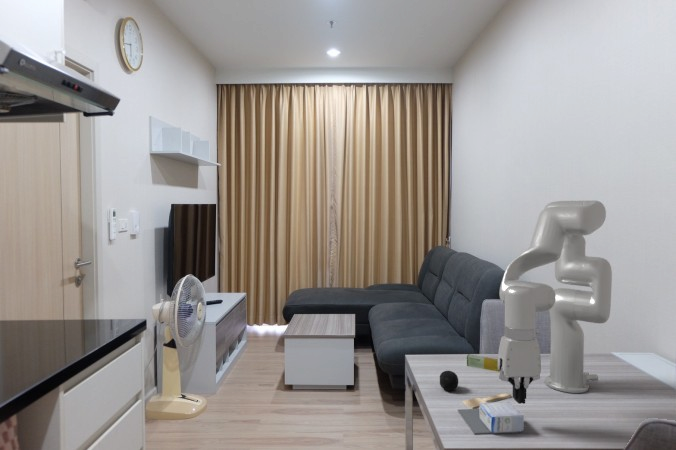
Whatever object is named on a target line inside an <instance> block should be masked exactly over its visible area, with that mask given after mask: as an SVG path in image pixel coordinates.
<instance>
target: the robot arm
mask: <svg viewBox="0 0 676 450" xmlns="http://www.w3.org/2000/svg"><path fill="white" fill-rule="evenodd" d="M606 217H607V210H606V207H605V205H604V204H603V202H601V201H598V200H559V201H557V200H556V201H552V202H549V203H547V204H546V205H545V206H544V208H543V209H542V210H541V211H540V213H539V215H538V218H537V222H536V224H535V228H534V232H533V234H532V238H531V239H530V245H529V247H528V248H526V249H525V250H523V252H521V253H520V254H518V255H517V256H516V257H515V258H514V259H513V260H512V261H510V263H509V264H508V265H507V266H506V268H505V270H504V273H503V276H502V279H501V282H500V286H499V300H500V301H501V302H502V304H504V335H502V336H501V338H500V343H499V347H498V353H497V354H498V355H497V359H498V370H499V371H500V372H499V375H498V378H499V380H501V381H503V382H509V384H510V385H511V386H512V397H513V399H514V401H515V402H516V403H518V404H526V399H527V389H528V388H529V387H530V385H531V383H532V382H533V381H538V380H541V372H542V360H541V358H542V357H541V351H540V344H539V341H538V339H537V334H541V330H540V328H537V327H536V314H537V313H540V312H547V311H548V313H549V319H550V363H549V364H550V368H549V369H550V370H549V371H550V373H549V374H550V375H547V376H546V377H545V379H544V383H545V385H547V386H548V387H550V388H551V389H554V390H556V391H560V392H563V393H569V394H570V393H572V394H583V393H587V392H588V391H589V389H590V387H589V386H590V385H589V384H588V382H590V381H598V380H599V376H598V374H590V373H589V372H588V371H587V372H586V371H585V372H584V364H585V362H584V357H585V354H584V349H585V346H584V345H585V344H584V343H585V336H584V331H583V329H582V327H581V325H580V324H579V322H578V321H581V322H587V323H590V324H591V323H593V324H605V323H606V322H608V320H609V319H610V315H611V304H612V286H613V285H612V283H613V272H612V266H611V264H610V261H608V259H606V258H604V257H601V256H599V257H598V256H587V255H586V244H587V243H586V238H585V237H584V236H588V235H589V236H590V235H591V234H592V233H594V232H596V231H597V230H599V229H600V228H601V227H602V226H603V225H604V223H605V221H606ZM553 263H554V277H555V279H556V281H557V282H559V283H560V284H564V285H570V286H579V287H588V288H591V289H592V290H591V291H589V290H582V289H575V288H555V289H554V288H553V286H551V285H549V284H546V283H540V282H532V281H526V280H525V281H524V280H519V279H521V277H522V276H524V274H526V273H527V272H529V271H531V270H534V269H536V268H540V267H542V266H545V265H549V264H553Z"/></svg>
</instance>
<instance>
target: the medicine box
mask: <svg viewBox="0 0 676 450" xmlns="http://www.w3.org/2000/svg"><path fill="white" fill-rule="evenodd" d="M478 409H479V415H480V419H481V420H482V422H483V423H484V424H485V425H486V426H487V428H488V429H489V430H490V431H491V432H492V433H497V432H516V431H520V432H523V431H524V419H525V418H524V414H523V413H522V412H521V411H519V409H517V408H516V407H515V406H514V405H513V404H511V402H509V401H499V402H498V401H496V402H495V401H493V402H489V403H480V407H479V408H478ZM497 434H498V433H497Z"/></svg>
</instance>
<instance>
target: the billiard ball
mask: <svg viewBox="0 0 676 450" xmlns="http://www.w3.org/2000/svg"><path fill="white" fill-rule="evenodd" d="M438 381H439V385H440V387H441V388H442V389H444V390H445V391H447V392H452V391H454V390H456V389H457V388H458V385H459V377H458V375H457V373H455V372H454V371H452V370H444V371H442V372H441V373H440V375H439V378H438Z"/></svg>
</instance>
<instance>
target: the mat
mask: <svg viewBox="0 0 676 450" xmlns="http://www.w3.org/2000/svg"><path fill="white" fill-rule="evenodd" d="M479 409H480V408H475V409H472V408H465V409H457V412H458V414H459V415H460V416H461V418H462V419H463V420H464V422H465V424H467V426H468V427H469V429H470V430H471V432H472V433H473V435H491V434H492V435H495V434H497V435H498V434H517V433H521V431H516V432H497V433H492V432H491V431H490V430H489V429H488V428H487V426H486V425H485V424H484V423H483V422H482V420H481V419H480V415H479Z"/></svg>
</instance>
